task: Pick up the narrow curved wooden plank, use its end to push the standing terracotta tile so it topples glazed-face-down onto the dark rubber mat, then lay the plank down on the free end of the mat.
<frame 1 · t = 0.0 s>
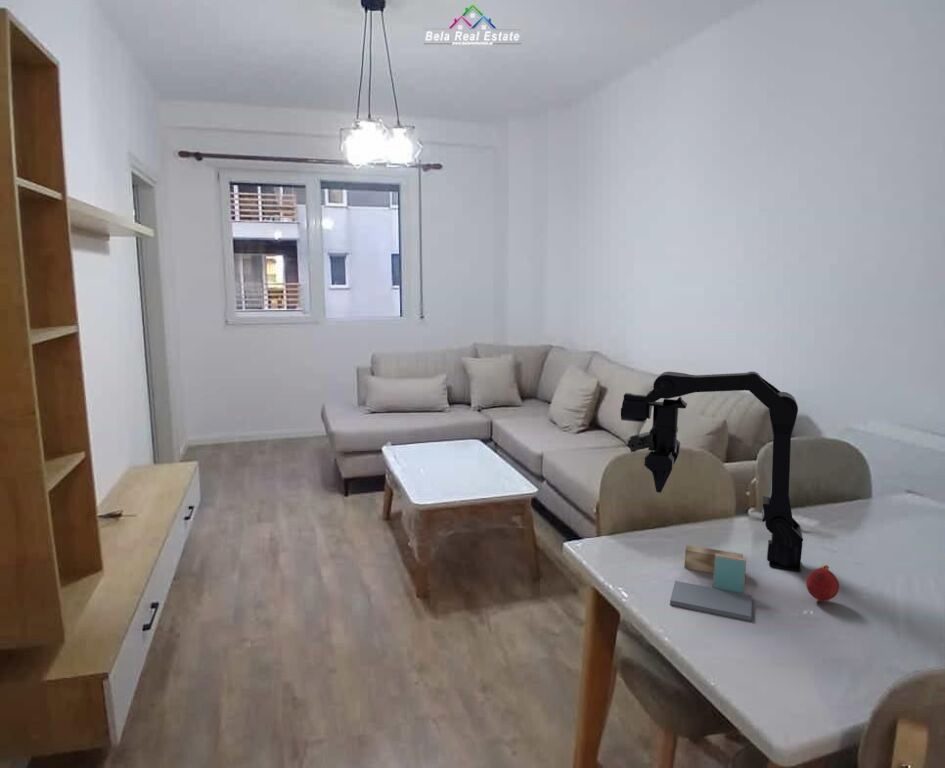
hand: (661, 486, 154), 15 cm above the table, fingers open, 9 cm apart
mat: (710, 602, 128), on the table
tile: (727, 592, 132), on the table
curved wooden plank: (712, 570, 142), on the table
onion: (820, 602, 128), on the table
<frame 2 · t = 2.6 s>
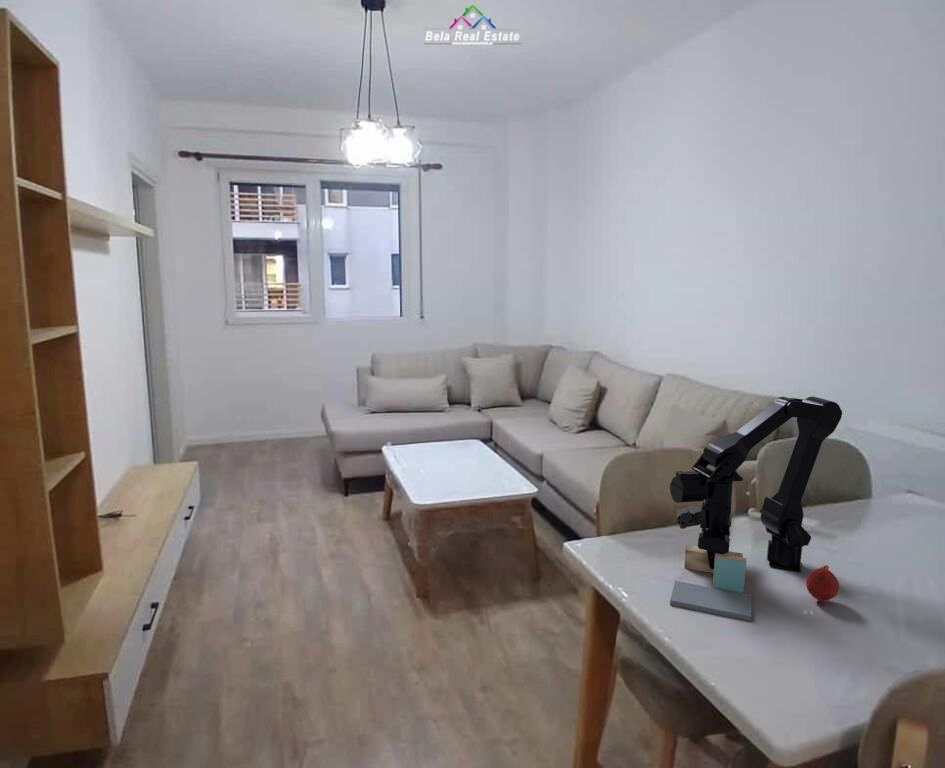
hand: (712, 565, 142), 1 cm above the table, fingers closed on curved wooden plank, 3 cm apart
curved wooden plank: (712, 570, 142), on the table, touching gripper
everything else where it was.
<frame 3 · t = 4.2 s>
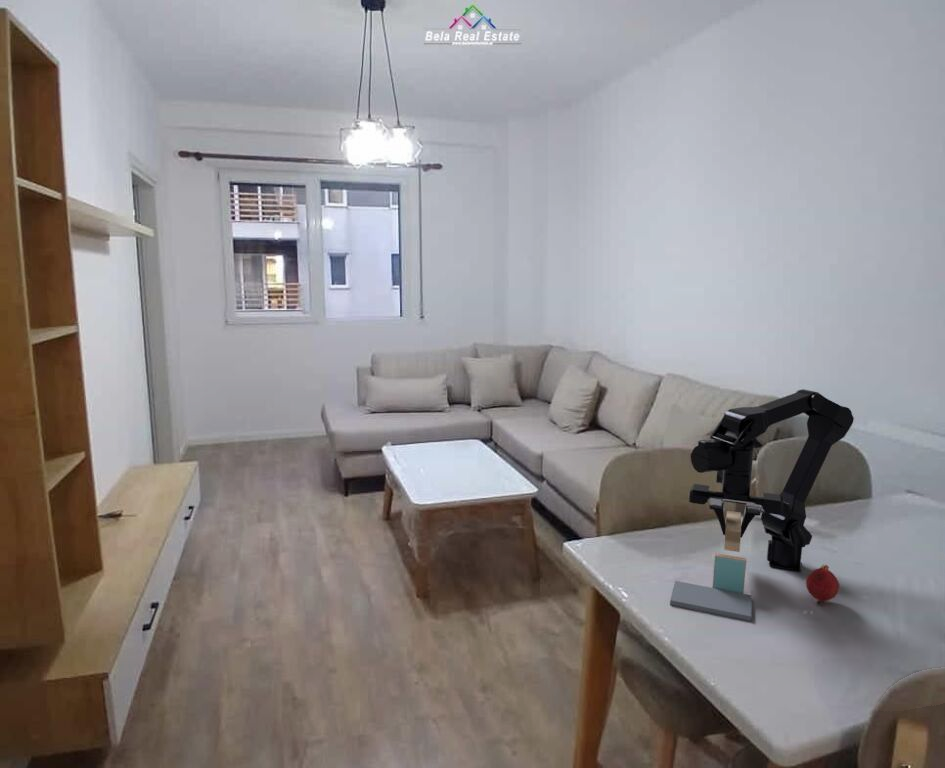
hand: (732, 535, 139), 9 cm above the table, fingers closed on curved wooden plank, 3 cm apart
curved wooden plank: (732, 540, 139), point 8 cm above the table, touching gripper
everything else where it was.
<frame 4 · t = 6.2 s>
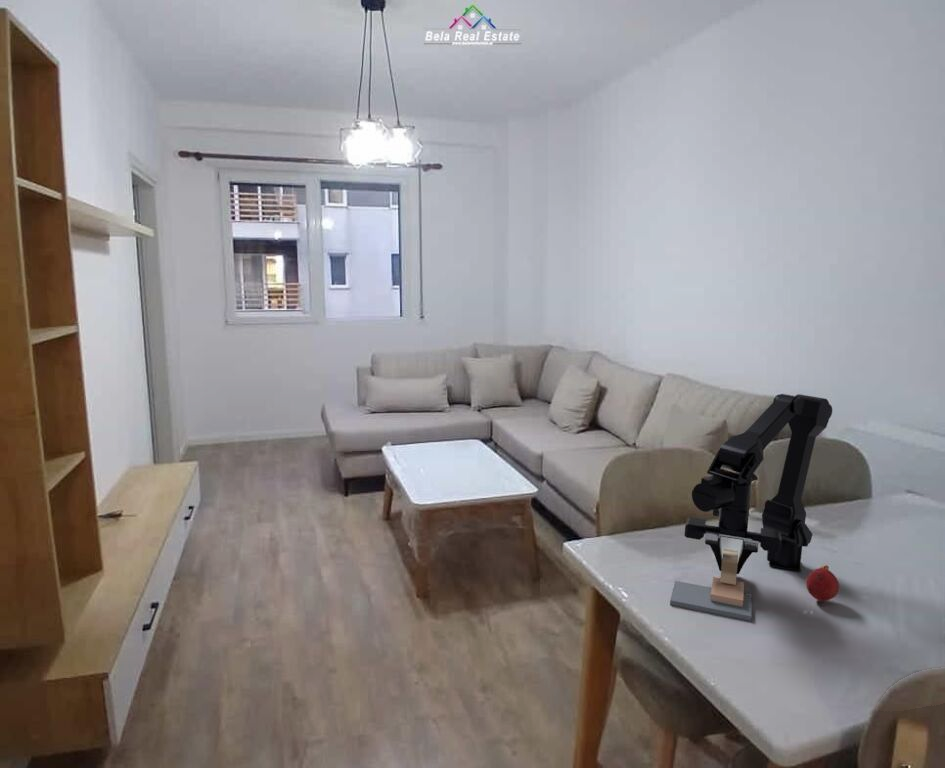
hand: (729, 571, 134), 3 cm above the table, fingers closed on curved wooden plank, 3 cm apart
tile: (728, 583, 132), point 2 cm above the table, tilted 90°, touching mat
curved wooden plank: (728, 576, 134), point 2 cm above the table, tilted 11°, touching gripper
everything else where it was.
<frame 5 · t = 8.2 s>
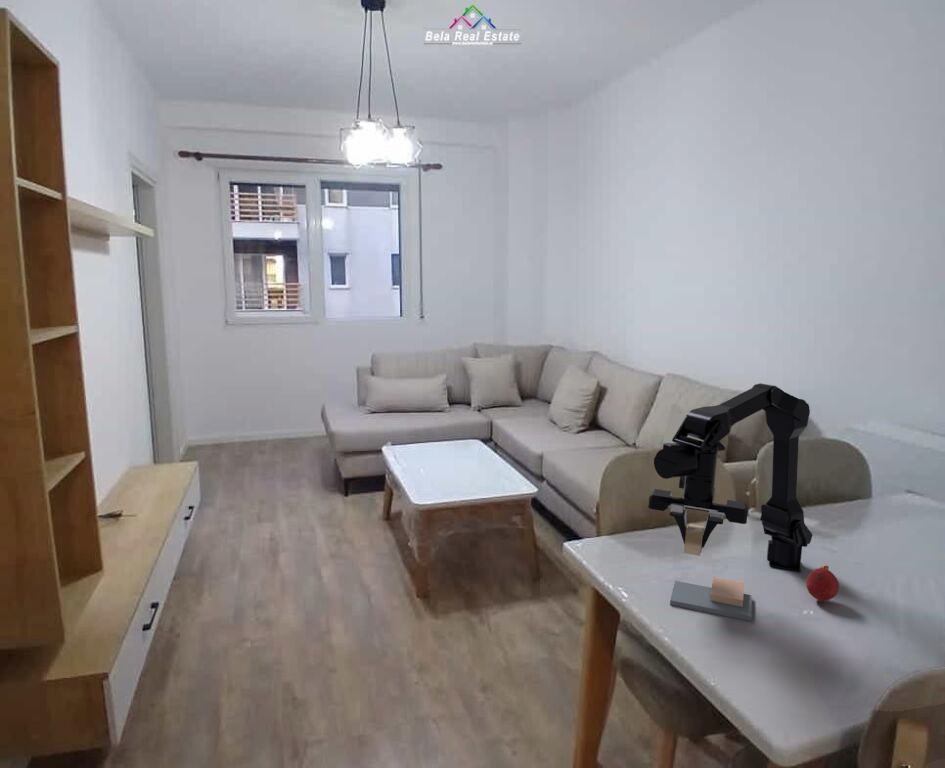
hand: (693, 545, 129), 11 cm above the table, fingers closed on curved wooden plank, 3 cm apart
curved wooden plank: (693, 549, 129), point 10 cm above the table, tilted 14°, touching gripper
everything else where it was.
when the fingers open (3 cm above the table, at t = 9.7 s): curved wooden plank drops 1 cm, resting on mat.
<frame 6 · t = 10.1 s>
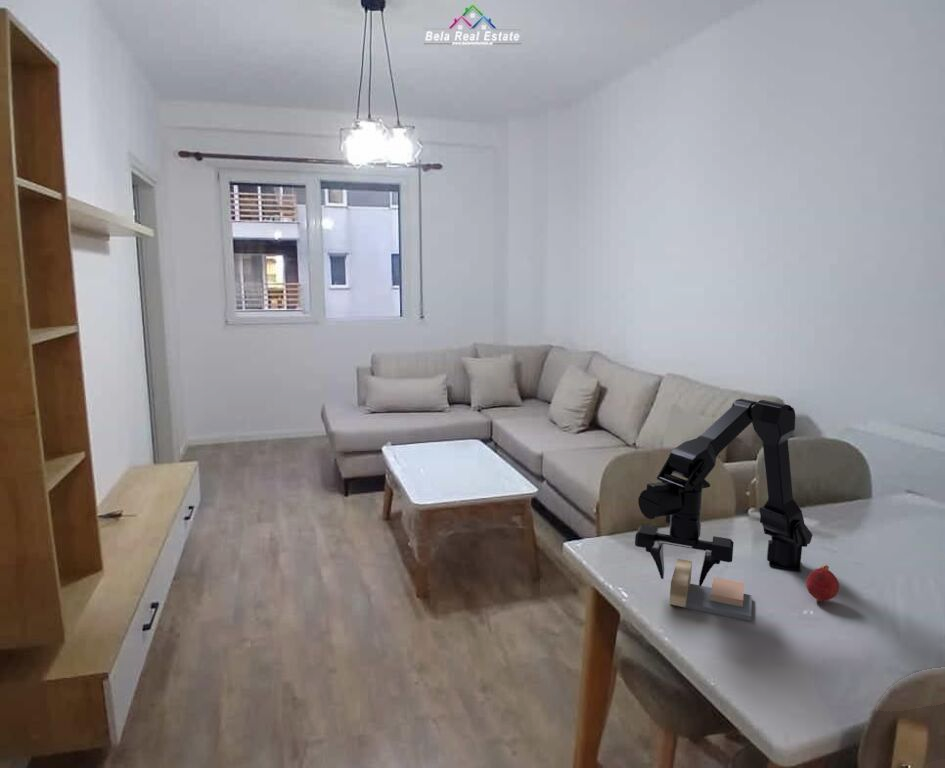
hand: (681, 581, 130), 3 cm above the table, fingers open, 7 cm apart
curved wooden plank: (680, 591, 130), point 1 cm above the table, touching mat
everything else where it was.
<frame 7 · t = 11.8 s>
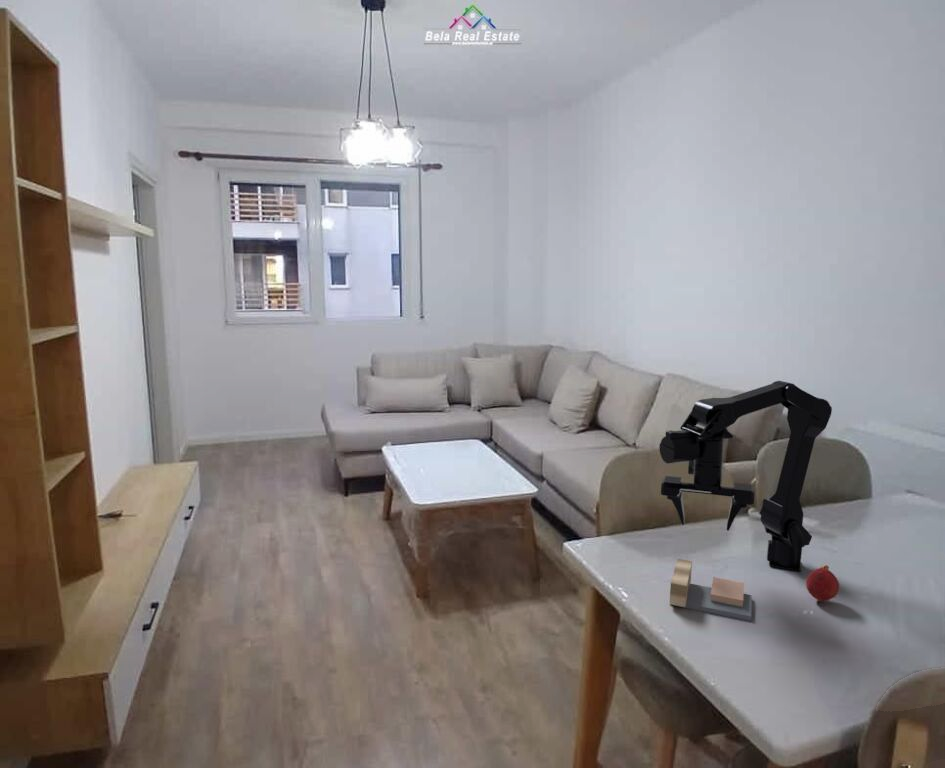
hand: (705, 527, 138), 11 cm above the table, fingers open, 9 cm apart
nothing on the table moved.
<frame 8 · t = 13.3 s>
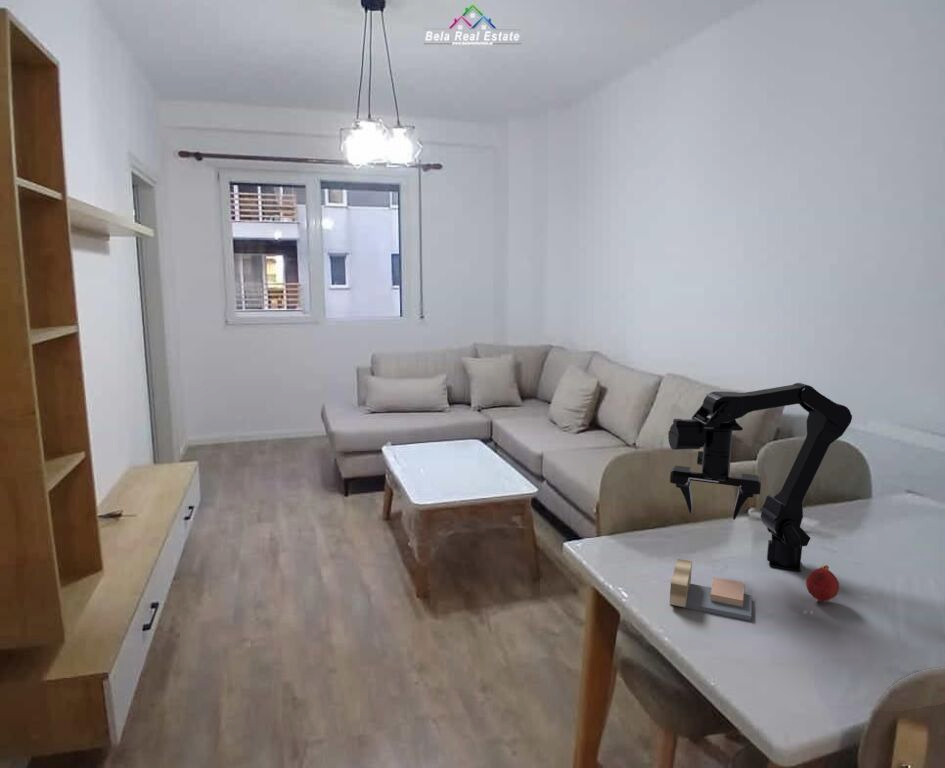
hand: (712, 515, 142), 12 cm above the table, fingers open, 9 cm apart
nothing on the table moved.
at the end: tile tilted 90°; tile inside the target area (6.2 cm from its centre), point 1.8 cm above the table; the gripper is holding nothing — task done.
